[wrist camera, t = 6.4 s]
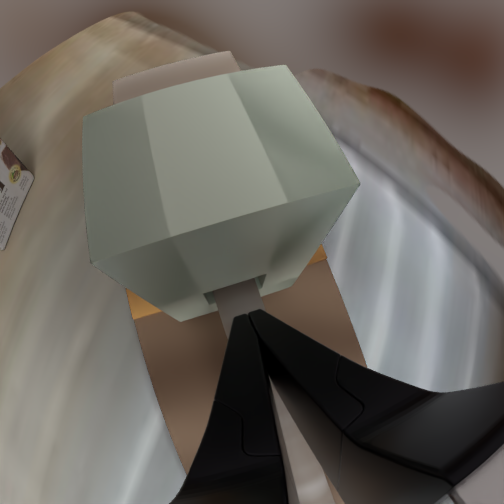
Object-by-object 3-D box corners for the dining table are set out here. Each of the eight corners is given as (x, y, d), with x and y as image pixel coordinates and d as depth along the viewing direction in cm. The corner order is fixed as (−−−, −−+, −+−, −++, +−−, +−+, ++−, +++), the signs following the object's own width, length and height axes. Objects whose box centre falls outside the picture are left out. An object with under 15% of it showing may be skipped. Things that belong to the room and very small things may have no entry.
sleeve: (291, 286, 14) (360, 183, 6) (180, 322, 14) (90, 263, 5) (263, 212, 16) (285, 64, 7) (159, 243, 15) (82, 116, 6)
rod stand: (398, 503, 12) (478, 559, 4) (241, 561, 11) (243, 654, 3) (269, 153, 19) (284, 43, 11) (118, 197, 18) (59, 103, 10)
